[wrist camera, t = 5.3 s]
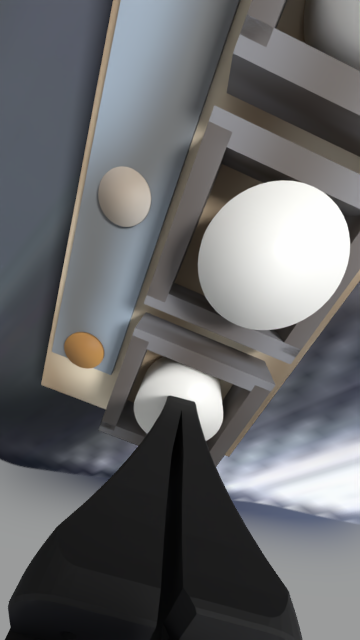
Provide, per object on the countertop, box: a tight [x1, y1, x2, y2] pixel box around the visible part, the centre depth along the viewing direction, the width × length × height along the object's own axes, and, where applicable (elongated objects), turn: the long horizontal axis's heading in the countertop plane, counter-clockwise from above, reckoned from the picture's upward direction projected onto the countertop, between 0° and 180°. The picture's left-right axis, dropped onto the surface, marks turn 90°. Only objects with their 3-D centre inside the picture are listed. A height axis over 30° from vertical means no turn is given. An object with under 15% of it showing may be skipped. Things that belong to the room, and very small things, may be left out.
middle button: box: [198, 180, 350, 330], centre depth 8 cm, size 4×4×2 cm
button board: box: [41, 0, 360, 466], centre depth 10 cm, size 13×24×4 cm, turn 158°
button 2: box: [134, 357, 223, 441], centre depth 12 cm, size 4×4×2 cm
